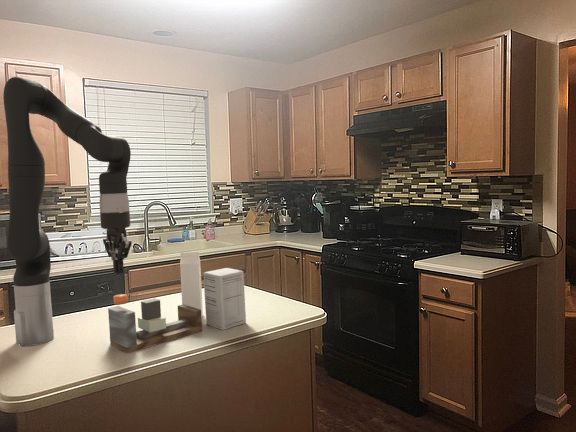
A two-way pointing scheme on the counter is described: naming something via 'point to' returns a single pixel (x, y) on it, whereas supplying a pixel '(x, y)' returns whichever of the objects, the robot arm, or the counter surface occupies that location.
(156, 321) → the carriage
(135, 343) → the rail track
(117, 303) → the button
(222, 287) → the supplement box
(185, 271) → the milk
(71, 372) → the counter surface
